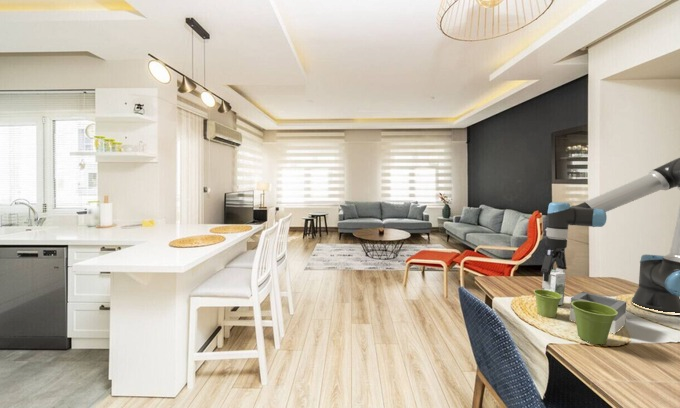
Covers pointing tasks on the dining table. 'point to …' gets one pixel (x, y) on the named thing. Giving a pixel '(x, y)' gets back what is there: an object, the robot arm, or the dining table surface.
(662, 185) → the robot arm
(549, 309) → the plant pot
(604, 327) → the plant pot
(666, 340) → the dining table surface
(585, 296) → the socket block
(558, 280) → the syrup box
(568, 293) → the dining table surface
